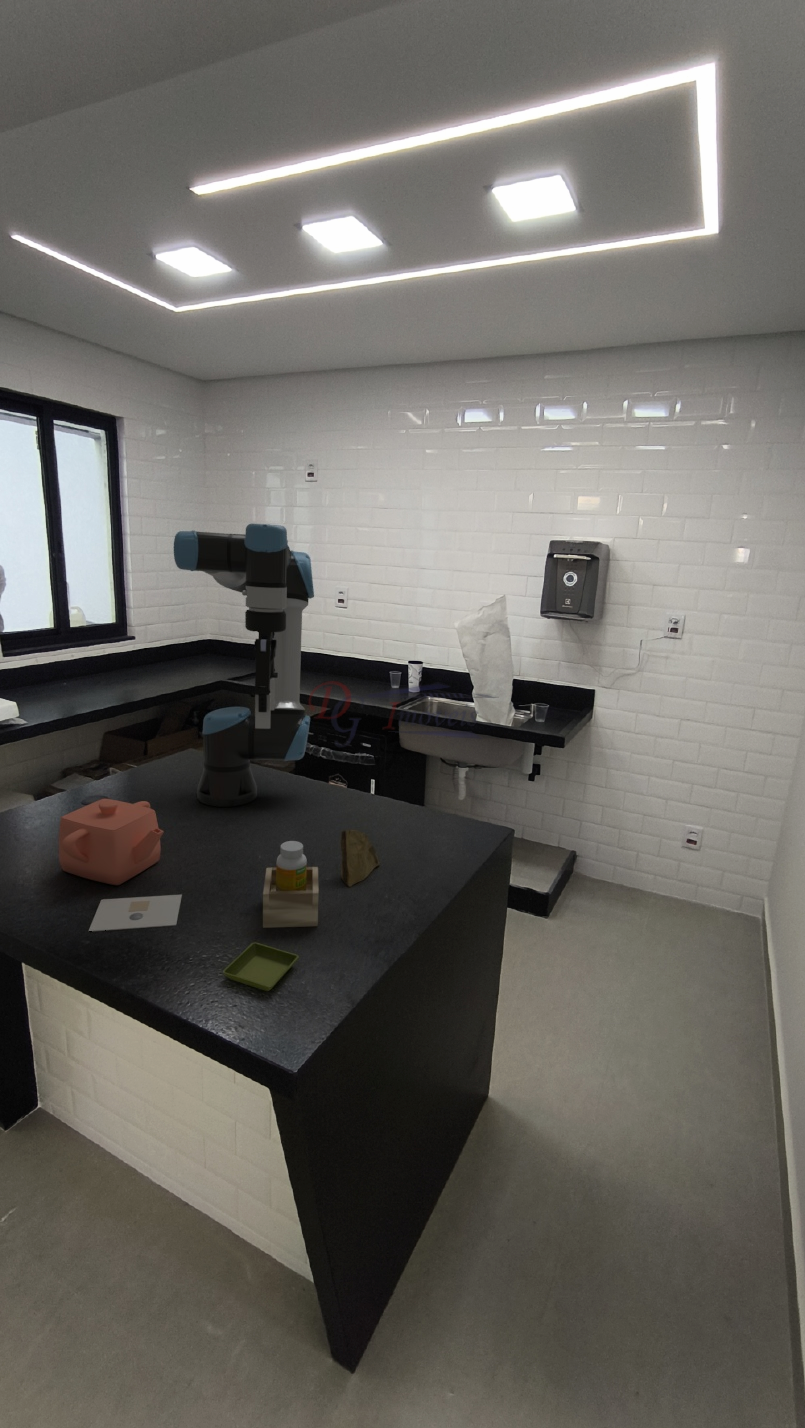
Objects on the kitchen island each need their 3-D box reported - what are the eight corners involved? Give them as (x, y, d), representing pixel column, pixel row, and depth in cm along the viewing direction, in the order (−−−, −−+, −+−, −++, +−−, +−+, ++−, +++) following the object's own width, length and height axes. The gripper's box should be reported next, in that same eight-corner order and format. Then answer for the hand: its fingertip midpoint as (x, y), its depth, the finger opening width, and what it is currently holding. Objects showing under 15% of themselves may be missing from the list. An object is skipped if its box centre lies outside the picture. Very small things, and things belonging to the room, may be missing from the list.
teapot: (36, 883, 122) (30, 816, 118) (122, 838, 142) (119, 779, 139) (120, 908, 116) (116, 837, 112) (197, 857, 136) (196, 795, 132)
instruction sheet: (101, 900, 118) (101, 899, 118) (181, 895, 121) (181, 894, 121) (88, 931, 108) (88, 930, 108) (176, 925, 111) (176, 924, 111)
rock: (371, 845, 141) (329, 846, 136) (387, 826, 135) (343, 826, 130) (383, 892, 134) (339, 895, 130) (400, 873, 129) (354, 876, 124)
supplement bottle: (298, 904, 114) (299, 855, 111) (270, 898, 115) (271, 849, 112) (310, 889, 119) (312, 842, 116) (284, 884, 120) (284, 836, 117)
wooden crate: (266, 898, 121) (266, 867, 120) (317, 897, 123) (317, 866, 121) (262, 927, 112) (263, 894, 111) (317, 926, 114) (318, 893, 112)
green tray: (221, 983, 98) (221, 971, 98) (253, 952, 106) (253, 941, 106) (270, 1000, 95) (270, 988, 95) (299, 966, 103) (300, 955, 103)
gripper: (251, 602, 132) (251, 702, 137) (238, 615, 108) (238, 736, 114) (288, 604, 133) (286, 703, 139) (283, 617, 109) (282, 737, 115)
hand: (265, 718), depth 126 cm, fingers open, 13 cm apart
